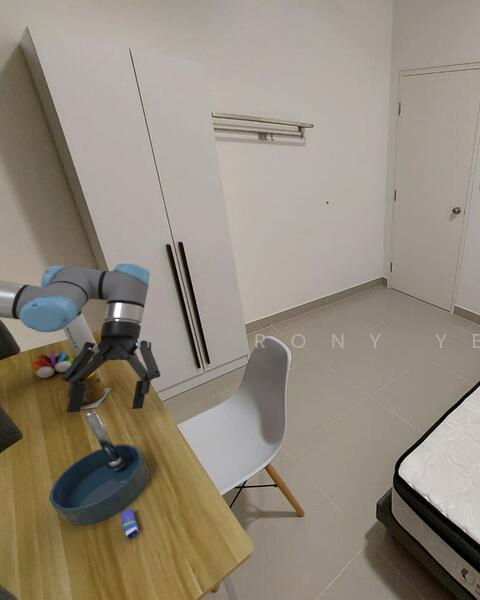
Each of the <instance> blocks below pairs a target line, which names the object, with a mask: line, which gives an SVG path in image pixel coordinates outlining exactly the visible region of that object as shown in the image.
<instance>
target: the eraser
mask: <svg viewBox="0 0 480 600" xmlns="http://www.w3.org/2000/svg"><path fill="white" fill-rule="evenodd" d="M120 516H121V521H122V525H123V529H124V533H125V537H126V538H127V540H131V539H132V538H133V537H135V536H136V535H139V534H140V532H139V527H138V523H137V521H136V517H135V513H134V510H133V508H132V507H129V508H127V509H126V510H124V511H122V512H121V513H120Z"/></svg>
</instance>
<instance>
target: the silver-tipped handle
mask: <svg viewBox="0 0 480 600" xmlns="http://www.w3.org/2000/svg"><path fill="white" fill-rule="evenodd" d="M84 419H85V421H86V423H87V424H88V426H89V428H90V430H91V431H92V433H93V435H94V437H95V438H96V440H97V442H98V445H100V448H102V449H103V451H104V453H105V455H106V456H107V458H108V460H109V461H108V462H107V468H108V469H109V470H111V471H117V470H119V469H121V468H122V467H123V466H124V465H125V463H126V458H125V457H124V456H123V455H119V454H118V452H117V450H116V449H115V447H114V445H115V444H114V443H113V441H112V439H111V437H110V435H109V434H108V431H107V430H106V428H105V425H104V424H103V422H102V420H101V418H100V416H99V414H98V412H97V411H95V410H89V411H87V412H86V413H85V414H84Z"/></svg>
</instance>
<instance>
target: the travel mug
mask: <svg viewBox="0 0 480 600" xmlns="http://www.w3.org/2000/svg"><path fill="white" fill-rule="evenodd" d="M62 330H63V332H64V334H65V336H66V338H67V340H68V342H69V344H70V346H71V348H72V349H73V352H74V354H75V356H76V358H77V357H78V355H79V354H80V353H81V352H82V350H83V347H84V344H85V343H86V342H91V343H97V341H96V339H95V337H94V335H93V333H92V330H91V329H90V327H89V325H88V322H87V319H86V318H85V316H84V313H83V311H82V309H81V310H80V312H79V313H78V315H77V317H76V318H75V319H74V320H73V321H71V322H70V323H69V324H68V325H67V326H66V327H64V328H63V329H62ZM98 352H99V349H98V351H95V353H94V355H93V356H92V357H94V356H95V355H96V354H97V353H98Z"/></svg>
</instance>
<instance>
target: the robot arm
mask: <svg viewBox="0 0 480 600" xmlns="http://www.w3.org/2000/svg"><path fill="white" fill-rule="evenodd" d="M150 274H151V273H150V271H149V269H147V268H146V267H144V266H141V265H138V264H134V263H117V264H116V265H115V266H114V268H113V270H103V269H101V270H100V269H93V268H84V267H75V266H71V265H50V266H48V267H47V268H45V270H44V273H42V275H41V281H40V284H41V286H38V285H32V284H25V283H18V282H12V281H5V280H0V318H2V319H9V320H10V319H11V320H18V321H19V320H20V322H21V323H22V325H24V326H25V327H27V328H29V329H31V330H34V331H35V332H39V333H54V332H58V331H61V330H63V328H64V327H66V326H67V325H68V324H69V323H70V322H71V321H73V320H74V319H75V318H76V317H77V315H78V313H79V312H80V310H81V311H82V309H83V308H84V307H85V305H86V304H88V302H89V301H90V300H100V301H107V302H106V307H105V310H104V316H103V321H105V322H103V323H102V325H101V330H100V341H99V342H98V343H97V342H96V343H91V342H86V343H85V344H84V347H83V350H82V352H81V353H80V354H79V355H78V357H77V356H76V358H75V359H74V360H73V362H72V363H71V364H72V365H71V366H70V367H69V368H68V370H67V371H66V372H64V373H63V375H62V376H61V377H60V380H61V381H62V382H67V383H68V384H69V387H68V391H67V396H66V397H67V398H69V401H68V405H67V409H66V413H80V412H81V410H82V409H81V405H82V400H83V395H84V391H85V386H86V384H83V381H84V380H85V379H87V378H88V377H89V376H90V375H91V374H92V373H93V372H94V371H95V372H96V371H97V370H98V369H99V368H100V367H101V366H102V365H103V364H105V363H107V362H109V361H117V360H120V361H127V363H128V364H129V365H130V367H131V368H132V369H133V371H134V372H135V374H137V376H138V377H139V380H136V383H135V390H134V395H133V400H132V401H133V402H132V407H131V409H132V410H139V409H142V410H143V408H144V402H145V396H146V395H148V394H149V393H150V387H151V383H152V380H154V379H159V378H160V377H161V372H160V370H159V367H158V364H157V361H156V359H155V357H154V354H153V352H152V342H151V341H148V340H143V339H142V340H141V341H138V340H139V338H140V334H141V328H142V325H140V324H141V323H142V321H143V317H144V311H145V305H146V300H147V296H148V291H149V281H150ZM98 349H99V352H98V353H97V354H96V355H94V353H95V351H98ZM137 349H138V350H139V352H140V354H141V357H142V360H143V362H144V365H145V366H144V365H143V363H142V362H141V361H140V360H139V357H138V356H137V354H136V353H135V351H137ZM93 355H94V356H93ZM87 363H88V364H87ZM86 364H87V365H86Z"/></svg>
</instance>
